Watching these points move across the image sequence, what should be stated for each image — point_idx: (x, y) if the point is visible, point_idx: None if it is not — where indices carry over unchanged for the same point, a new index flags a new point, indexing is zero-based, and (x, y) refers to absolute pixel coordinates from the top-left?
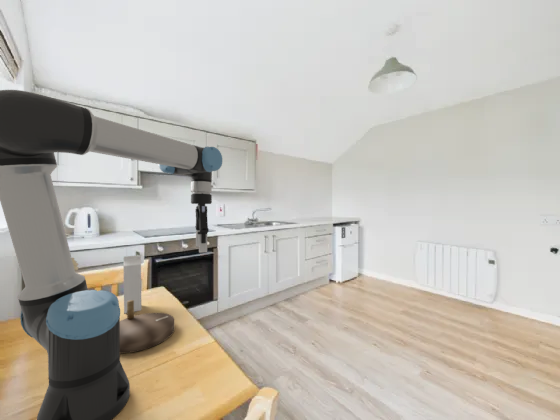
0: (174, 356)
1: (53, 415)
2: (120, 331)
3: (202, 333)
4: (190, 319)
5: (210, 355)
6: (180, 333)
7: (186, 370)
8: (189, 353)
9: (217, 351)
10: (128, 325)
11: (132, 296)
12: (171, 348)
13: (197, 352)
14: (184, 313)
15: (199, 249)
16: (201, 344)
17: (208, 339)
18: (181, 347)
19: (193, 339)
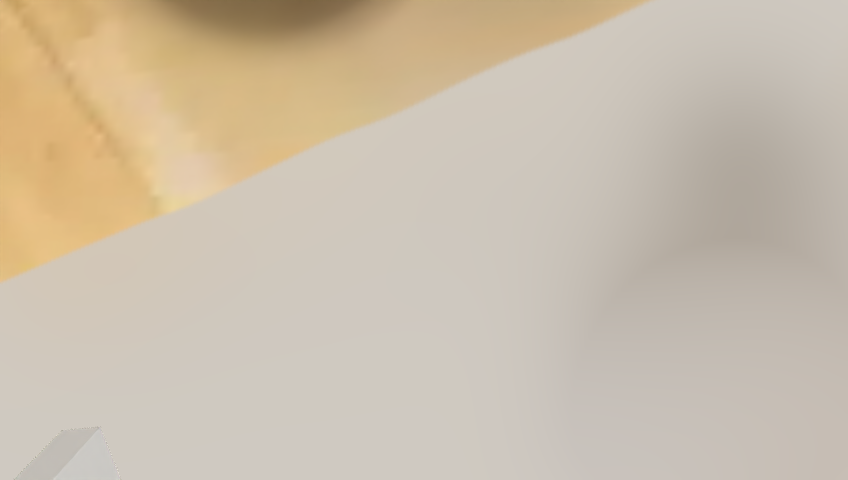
0: (52, 35)
1: None
2: None
3: (258, 163)
4: (462, 74)
5: (52, 207)
6: (279, 31)
7: None
8: (73, 108)
9: (81, 238)
10: None
11: None
12: (123, 4)
13: (79, 146)
14: (581, 16)
15: (22, 478)
16: (146, 162)
17: (190, 197)
18: (128, 59)
19: (200, 117)
